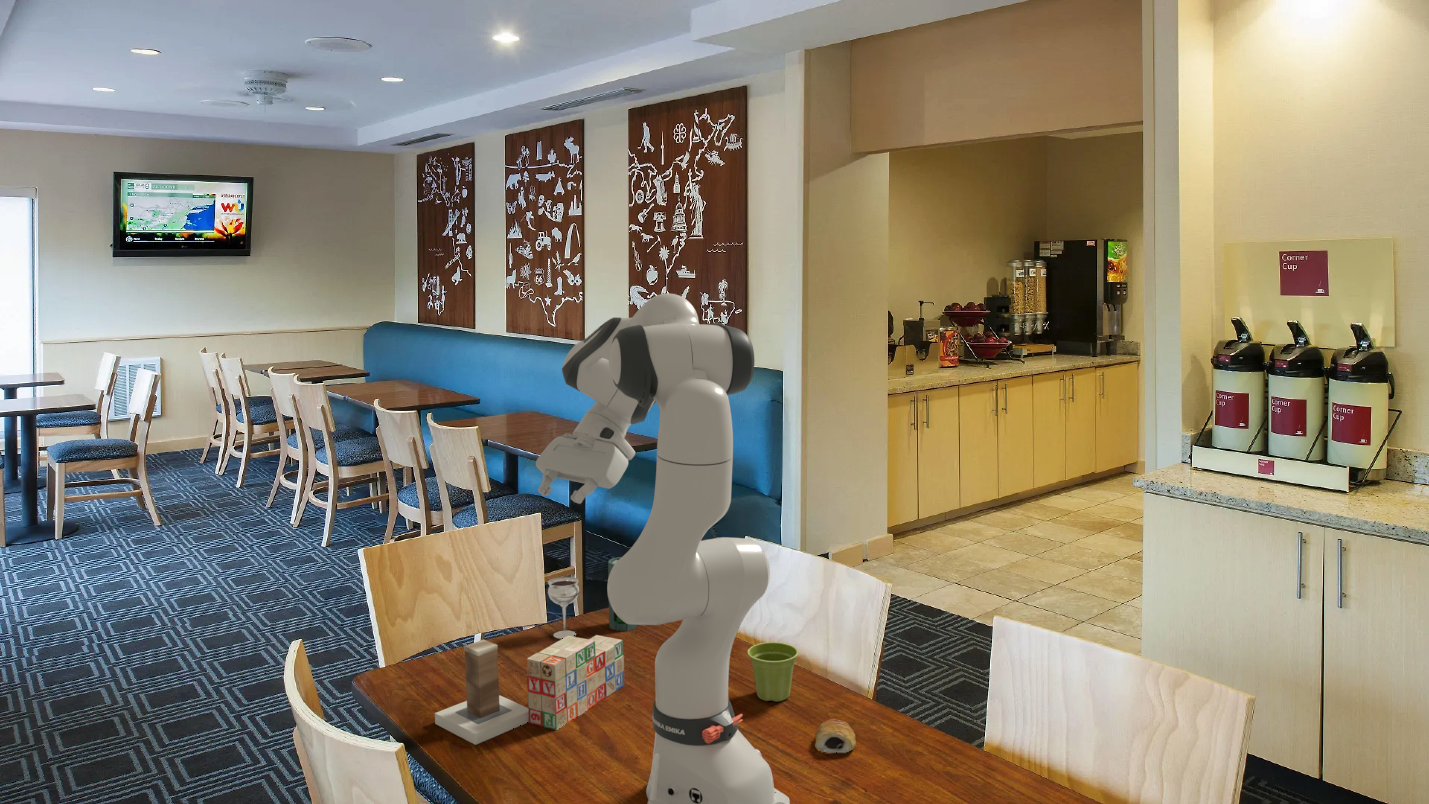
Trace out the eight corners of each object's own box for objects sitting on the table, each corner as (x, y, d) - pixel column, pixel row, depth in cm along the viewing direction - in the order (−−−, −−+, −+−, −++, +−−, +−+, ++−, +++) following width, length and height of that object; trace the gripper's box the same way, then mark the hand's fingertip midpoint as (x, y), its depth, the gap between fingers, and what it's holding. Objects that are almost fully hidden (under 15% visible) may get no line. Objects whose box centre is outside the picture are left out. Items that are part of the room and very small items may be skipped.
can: (620, 632, 221) (618, 566, 219) (604, 625, 225) (603, 560, 223) (642, 626, 224) (641, 561, 222) (627, 619, 229) (625, 555, 227)
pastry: (816, 728, 175) (817, 707, 175) (855, 731, 174) (856, 710, 174) (814, 754, 166) (814, 732, 165) (855, 757, 165) (856, 735, 164)
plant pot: (769, 711, 182) (769, 665, 180) (737, 693, 189) (737, 649, 188) (808, 697, 187) (808, 653, 186) (775, 681, 195) (775, 638, 193)
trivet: (532, 720, 179) (531, 709, 178) (475, 744, 170) (474, 733, 169) (491, 701, 186) (491, 690, 186) (435, 723, 178) (434, 712, 177)
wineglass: (543, 637, 218) (541, 584, 216) (559, 627, 224) (558, 575, 223) (570, 642, 215) (568, 588, 214) (586, 631, 222) (584, 578, 220)
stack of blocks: (598, 680, 196) (596, 619, 194) (625, 686, 193) (623, 624, 191) (528, 724, 178) (525, 657, 176) (556, 731, 175) (554, 664, 173)
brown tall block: (500, 710, 178) (497, 645, 176) (480, 718, 175) (477, 651, 173) (486, 704, 181) (483, 639, 179) (466, 711, 178) (464, 646, 176)
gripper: (552, 422, 197) (513, 479, 191) (624, 434, 184) (584, 495, 178) (570, 442, 201) (533, 498, 195) (642, 454, 188) (604, 515, 182)
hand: (558, 497), depth 187 cm, fingers open, 8 cm apart
